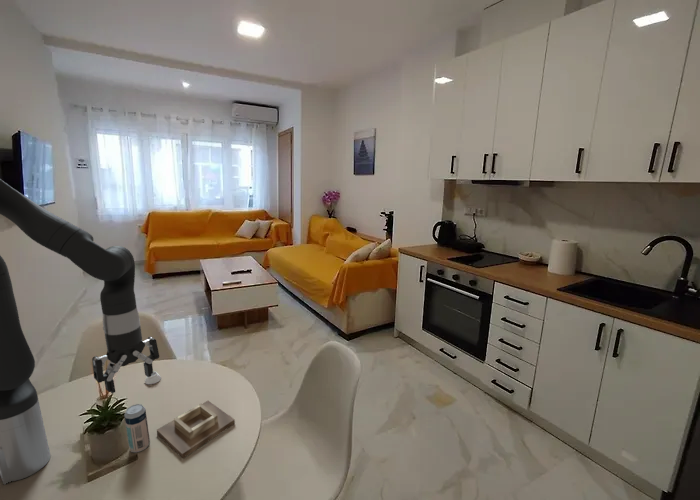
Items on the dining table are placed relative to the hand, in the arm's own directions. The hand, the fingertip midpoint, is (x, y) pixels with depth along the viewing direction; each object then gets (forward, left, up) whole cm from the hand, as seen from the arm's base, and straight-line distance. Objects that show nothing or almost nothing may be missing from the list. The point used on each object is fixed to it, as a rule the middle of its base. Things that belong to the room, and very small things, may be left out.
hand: (131, 383), depth 88 cm
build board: (+13, -6, -20) cm, 24 cm away
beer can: (0, 0, -20) cm, 20 cm away
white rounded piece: (+16, +28, -20) cm, 38 cm away
